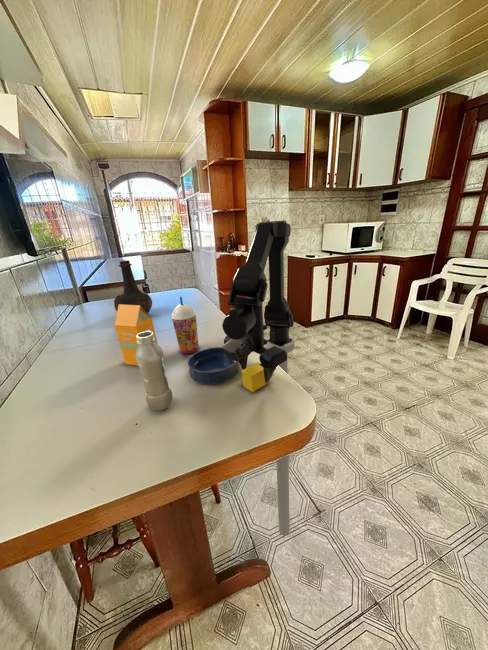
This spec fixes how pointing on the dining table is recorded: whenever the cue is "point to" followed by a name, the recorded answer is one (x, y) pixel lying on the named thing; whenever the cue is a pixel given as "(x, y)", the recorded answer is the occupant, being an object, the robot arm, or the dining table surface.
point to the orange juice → (132, 329)
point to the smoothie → (185, 327)
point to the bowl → (212, 366)
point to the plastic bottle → (153, 372)
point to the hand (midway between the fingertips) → (255, 375)
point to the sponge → (253, 377)
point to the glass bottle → (131, 290)
